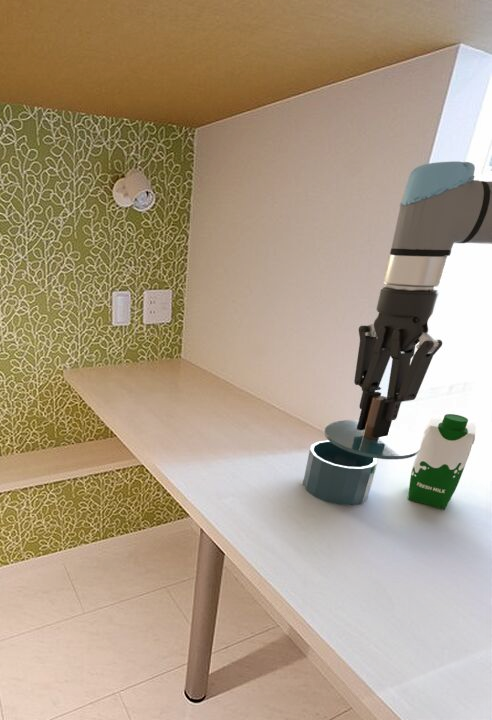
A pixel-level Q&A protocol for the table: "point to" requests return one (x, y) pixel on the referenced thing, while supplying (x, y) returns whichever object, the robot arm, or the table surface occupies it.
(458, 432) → the milk carton
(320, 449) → the jar
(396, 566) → the table surface
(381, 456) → the jar lid
